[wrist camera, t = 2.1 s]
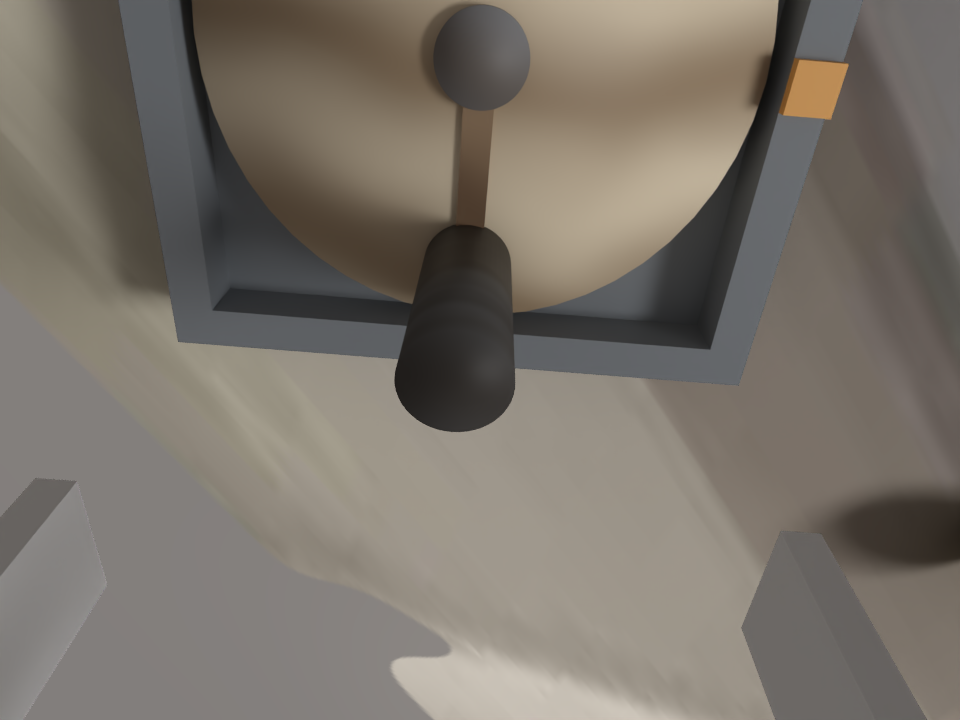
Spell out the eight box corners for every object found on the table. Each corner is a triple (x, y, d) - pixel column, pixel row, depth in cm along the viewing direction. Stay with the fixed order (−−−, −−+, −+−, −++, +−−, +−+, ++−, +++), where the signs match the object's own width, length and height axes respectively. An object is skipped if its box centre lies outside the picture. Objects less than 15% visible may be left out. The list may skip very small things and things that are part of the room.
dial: (167, -350, 18) (-113, -608, 10) (845, -286, 18) (1127, -483, 10) (240, 278, 27) (128, 418, 19) (688, 314, 27) (768, 467, 19)
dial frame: (105, -438, 18) (16, -527, 15) (917, -360, 19) (1010, -429, 15) (211, 302, 29) (173, 346, 26) (714, 341, 30) (741, 391, 26)
